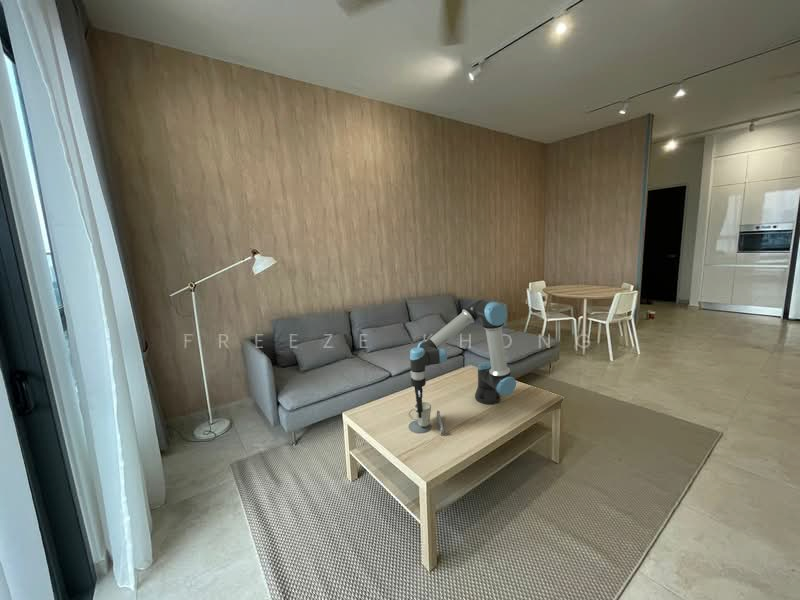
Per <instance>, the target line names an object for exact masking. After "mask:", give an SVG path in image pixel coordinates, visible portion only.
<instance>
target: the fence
mask: <svg viewBox="0 0 800 600" xmlns="http://www.w3.org/2000/svg"><path fill="white" fill-rule="evenodd" d="M436 418H437V423H438V425H439V430H440V431H439V432H440V436H442V437H443V436H444V435H445V431H444V428H445V427H444V426H443V423H442V418H441V412H440V410H437V411H436Z"/></svg>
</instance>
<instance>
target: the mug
mask: <svg viewBox="0 0 800 600" xmlns="http://www.w3.org/2000/svg"><path fill="white" fill-rule="evenodd" d="M422 410H423V412H422V414H423V423H418V424H419V425H420V426H428V425H429V423H430V421H431V410H432V404H431V403H429V402H423V401H422ZM412 411H415V413H416V416H417V412H416V411H417V404H415V406H414V407H411V408H409V409H408V411H407V415H408V417H409V418H410V419H411V420H413V421H415V420H417V417H413V416H412V415H411V412H412Z"/></svg>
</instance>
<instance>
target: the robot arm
mask: <svg viewBox="0 0 800 600" xmlns="http://www.w3.org/2000/svg"><path fill="white" fill-rule="evenodd" d="M507 317H508V311H507V309H506V307H505V306H504V305H502V304H501V303H499V302H496V301H491V300H488V299H485V298H481V299H477V300H474V301H473V302H471V303H470V304H468V305H467V306H466V307H465V308H463V309H462V311H461V313H460V314H458V315H457V316H456V317H454V319H452V320H450V321H449V322H448V323H447V324H446V325H445V326H443V327H442V328H441V329H440V330H439V331H437V332H436V333H435V334H433V335H432V336H431V337H430V338H428V339H427V340H426V341H425V340H423V341H420V342H418V344H417V346H416V347H413V348H411V349H410V351H409V360H410V371H409V374H410V378H411V379H410V382H411V386H412V387H414V393H415V401H416V402H415V403H416V404H417V411H416V410H415V413H416V412H417V415H416V418H417V422H418V423H423V414H422V412H423V410H422V402H423V387H425V386H426V385H427V384H426V367H428V366H434V365H441V364H445V363H447V361H448V354H447V351H446V349H444V348H441V347H443V345H445V344H446V343H447V342H449V341H450V340H451V339H452V338H454V337H455V336H456V335H457V334H458V333H460V332H461V331H462V330H463V329H465V328H466V327H467V326H468V325H470V324H474V323H475V322H476V321H479V320H481V327H482V328H483V329H484V330H485V335H486V342H487V347H488V353H489V354H488V355H489V361H484V362H480V363H479V364H477V366H478V367H477V388H476V389H475V390H476V391H475V393H474V398H475V400H476V401H477V402H478V403H480V404H483V405H484V404H485V405H496V404H498V403H499V402H501V396H509V395H511V394H512V393H513V392H514V390H515V389H516V387H517V381H516V379H515V377H513V376H512V372H511V368H510V367H508V363H507V357H506V350H505V342H504V336H503V327H504V326H505V322H506V319H508V318H507ZM416 404H415V405H416Z"/></svg>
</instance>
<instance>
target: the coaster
mask: <svg viewBox="0 0 800 600" xmlns="http://www.w3.org/2000/svg"><path fill="white" fill-rule="evenodd" d="M431 428H432V424H431V423H430V422H429V425H428V426H420V425H419V424H418V422H417V420H413V421H411V422H410V423H409V424H408V429H409V431H411V432H412V433H414V434H426V433H427V432H429V431H430V430H431Z"/></svg>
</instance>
